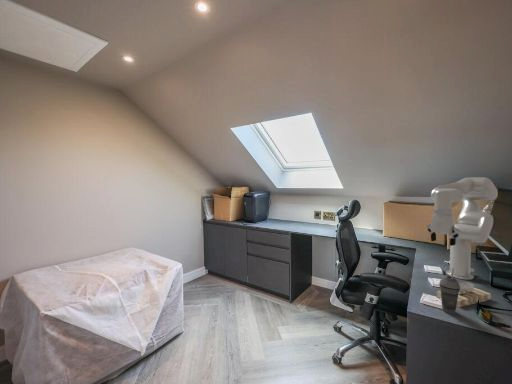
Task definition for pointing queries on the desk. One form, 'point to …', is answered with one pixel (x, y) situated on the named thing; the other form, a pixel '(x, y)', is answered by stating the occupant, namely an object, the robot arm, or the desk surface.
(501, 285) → the desk surface
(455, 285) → the beverage cup
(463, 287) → the clip
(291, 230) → the desk surface
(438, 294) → the slatted wooden pallet
